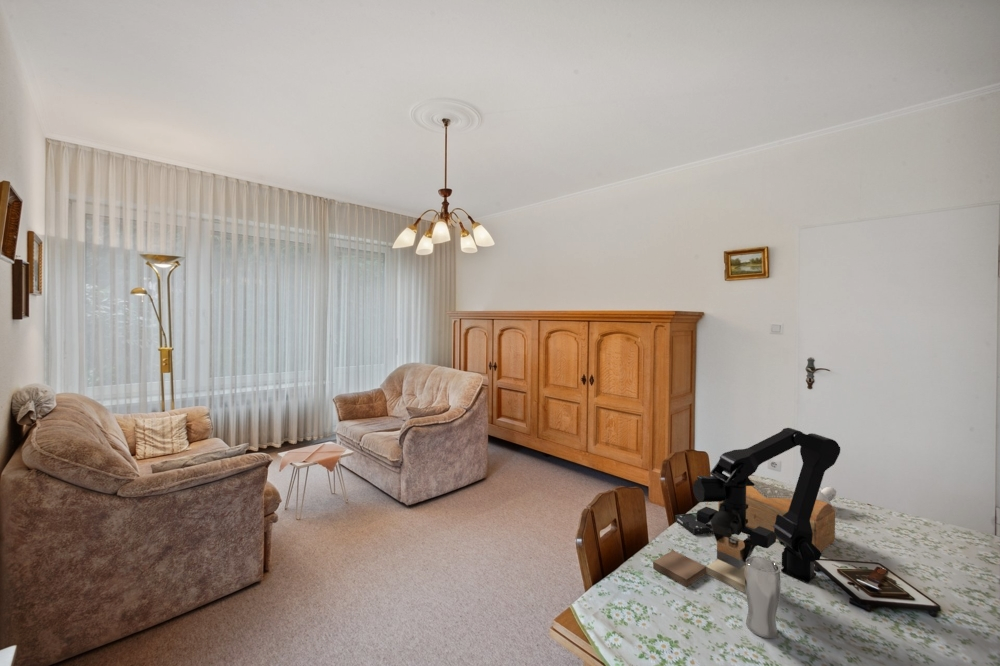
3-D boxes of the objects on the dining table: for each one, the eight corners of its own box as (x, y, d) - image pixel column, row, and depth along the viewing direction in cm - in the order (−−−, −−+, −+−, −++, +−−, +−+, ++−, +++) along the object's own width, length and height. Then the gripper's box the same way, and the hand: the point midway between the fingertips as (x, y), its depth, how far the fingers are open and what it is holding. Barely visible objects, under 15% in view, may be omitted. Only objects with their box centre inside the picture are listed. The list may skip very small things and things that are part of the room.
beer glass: (736, 618, 96) (737, 556, 95) (764, 616, 96) (765, 554, 96) (758, 641, 89) (759, 574, 88) (787, 639, 89) (788, 572, 89)
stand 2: (761, 578, 110) (761, 571, 110) (744, 592, 105) (744, 585, 105) (723, 561, 119) (723, 554, 119) (706, 573, 113) (706, 566, 113)
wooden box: (837, 541, 130) (838, 498, 130) (814, 556, 121) (815, 511, 121) (742, 505, 156) (742, 469, 155) (717, 516, 147) (717, 478, 147)
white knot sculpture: (793, 508, 153) (794, 484, 153) (800, 498, 161) (801, 476, 161) (831, 518, 145) (832, 493, 145) (837, 508, 153) (837, 484, 153)
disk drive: (694, 537, 133) (732, 532, 136) (694, 529, 133) (732, 523, 136) (674, 522, 143) (710, 517, 146) (674, 514, 143) (710, 510, 146)
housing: (750, 561, 111) (750, 540, 111) (739, 569, 107) (740, 546, 107) (727, 551, 116) (727, 530, 116) (716, 558, 112) (717, 537, 112)
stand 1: (706, 573, 113) (706, 566, 113) (686, 586, 107) (686, 579, 107) (673, 556, 121) (673, 550, 121) (653, 568, 115) (653, 561, 115)
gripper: (685, 495, 114) (685, 550, 114) (758, 522, 99) (757, 585, 99) (706, 486, 121) (705, 538, 121) (777, 510, 105) (776, 569, 106)
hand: (733, 556), depth 111 cm, fingers closed on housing, 6 cm apart
